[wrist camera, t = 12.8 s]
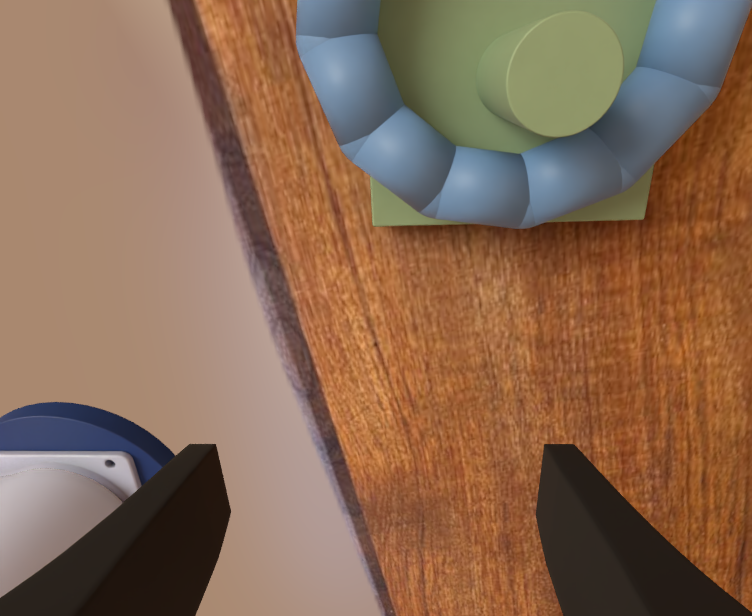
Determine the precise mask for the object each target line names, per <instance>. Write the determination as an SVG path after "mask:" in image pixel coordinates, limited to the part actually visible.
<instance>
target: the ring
mask: <svg viewBox="0 0 752 616" xmlns="http://www.w3.org/2000/svg"><path fill="white" fill-rule="evenodd" d="M380 2H381V0H297V24H296V45H297V50H298V54H299V56H300V59H301V61H302V63H303V66H304V68H305V70H306V72H307V75H308V77H309V79H310V81H311V84H312V86H313V88H314V90H315V93H316V95H317V97H318V99H319V102H320V104H321V106H322V108H323V111H324V113H325V115H326V117H327V120H328V122H329V124H330V126H331V129H332V131H333V133H334V135H335V138H336V140H337V142H338V144H339V147H340V148H341V150H342V152H343V153H344V154H345V156H346V157H347V158H348V159H349V160H350V161H352V162H353V163H354V164H355V165H357V166H358V167H359V168H361V169H362V170H363V171H365V172H366V173H367V174H369V175H370V176H371V177H373V178H374V179H375V180H377V181H378V182H379V183H380V184H382V185H383V186H384V187H386V188H387V189H388V190H390V191H391V192H392V193H394V194H395V195H396V196H398V197H399V198H400V199H402V200H403V201H404V202H405V203H407V204H408V205H409V206H411V207H412V208H413V209H415V210H416V211H417V212H419V213H420V214H422V215H424V216H426V217H429V218H434V219H441V220H449V221H457V222H465V223H473V224H481V225H489V226H497V227H505V228H513V229H526V228H531V227H534V226H537V225H539V224H542V223H545V222H547V221H550V220H552V219H555V218H558V217H560V216H563V215H565V214H568V213H571V212H573V211H576V210H579V209H581V208H584V207H586V206H589V205H592V204H594V203H597V202H599V201H602V200H605V199H607V198H610V197H613V196H615V195H618V194H620V193H622V192H624V191H626V190H627V189H629V188H630V187H631V186H633V185H634V184H635V183H636V182H637V181H638V180H639V179H640V178H641V177H642V176H643V175H644V174H645V173H646V172H647V171H648V170H649V169H650V168H651V167H652V165H653V164H654V163H655V162H656V161H657V160H658V159H659V158H660V157H661V156H662V155H663V154H664V153H665V152H666V151H667V150H668V149H669V148H670V147H671V146H672V145H673V144H674V143H675V142H676V141H677V140H678V139H679V138H680V137H681V136H682V135H683V134H684V133H685V132H686V130H687V129H688V128H689V127H690V126H691V125H692V124H693V123H694V122H695V121H696V120H697V119H698V118H699V117H700V116H701V115H702V114H703V113H704V112H705V111H706V110H707V109H708V108H709V107H710V105H711V104H712V103H713V102H714V100H715V99H716V97H717V95H718V94H719V92H720V90H721V87H722V85H723V82H724V79H725V77H726V74H727V71H728V69H729V66H730V63H731V61H732V58H733V55H734V53H735V50H736V47H737V44H738V42H739V39H740V36H741V34H742V31H743V28H744V26H745V23H746V20H747V18H748V15H749V12H750V10H751V7H752V0H656V3H655V6H654V9H653V12H652V16H651V19H650V22H649V26H648V29H647V32H646V36H645V39H644V42H643V46H642V49H641V52H640V55H639V59H638V62H637V65H636V68H635V69H634V71H633V72H632V73H631V74H630V75H629V76H628V77H627V78H626V80H625V81H624V82H623V83H622V84H621V86H620V89H619V92H618V94H617V96H616V99H615V100H614V102H613V104H612V105H611V107H610V108H609V109H608V111H607V112H606V113H605V114H604V115H603V116H602V117H601V118H600V119H599V120H598V121H597V122H596V123H595V124H593V125H592V126H590V127H589V128H587V129H586V130H584V131H582V132H580V133H577V134H574V135H571V136H567V137H559V138H556V139H554V140H551V141H549V142H547V143H544V144H542V145H539V146H537V147H535V148H532V149H530V150H527V151H525V152H523V153H520V154H517V153H509V152H501V151H493V150H485V149H477V148H469V147H461V146H455V145H454V144H453V143H451V142H450V141H449V140H448V139H447V138H445V137H444V136H443V135H442V134H440V133H439V132H438V131H437V130H435V129H434V128H433V127H432V126H431V125H429V124H428V123H427V122H426V121H424V120H423V119H422V118H421V117H419V116H418V115H417V114H416V113H415V112H413V111H412V110H411V109H410V108H408V107H407V106H406V105H405V104H404V103H403V100H402V97H401V95H400V92H399V89H398V87H397V84H396V82H395V79H394V76H393V74H392V71H391V69H390V66H389V63H388V61H387V58H386V55H385V53H384V50H383V48H382V45H381V42H380V40H379V37H378V35H377V32H378V22H379V12H380Z"/></svg>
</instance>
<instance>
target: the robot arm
mask: <svg viewBox="0 0 752 616" xmlns="http://www.w3.org/2000/svg"><path fill="white" fill-rule="evenodd" d="M111 460H112V461H113V462H112V461H111ZM230 513H231V509H230V505H229V500H228V496H227V492H226V487H225V483H224V478H223V474H222V469H221V465H220V460H219V456H218V451H217V447H216V444H189V445H188V446H187V447H185V448H184V449H183V450H182V451H181V452H180V453H179V454H178V455H176V456H175V457H174V458H173V459H172V460H171V461H169V462H168V463H167V464H166V465H165V466H164V467H163V468H162V469H161V470H160V471H158V472H157V473H156V474H155V475H154V476H153V477H152V478H151V479H150V480H148V481H147V482H146V483H145V484H144V485H143V486H142V485H141V482H140V479H139V476H138V472H137V469H136V466H135V463H134V460H133V458H132V456H131V455H130V454H129V453H127V452H123V451H0V616H195V615H196V612H197V610H198V608H199V605H200V603H201V600H202V598H203V595H204V593H205V590H206V588H207V586H208V583H209V580H210V578H211V575H212V573H213V571H214V568H215V565H216V563H217V560H218V558H219V554H220V551H221V547H222V543H223V541H224V537H225V533H226V529H227V526H228V522H229V518H230ZM536 518H537V523H538V528H539V533H540V538H541V543H542V547H543V552H544V556H545V561H546V564H547V567H548V570H549V574H550V577H551V580H552V583H553V586H554V589H555V592H556V595H557V598H558V601H559V604H560V607H561V610H562V613H563V616H752V612H750V611H749V610H748V609H747V608H745V607H744V606H743V605H742V604H740V603H739V602H738V601H737V600H735V599H734V598H733V597H732V596H730V595H729V594H728V593H727V592H725V591H724V590H723V589H722V588H721V587H719V586H718V585H717V584H716V583H714V582H713V581H712V580H711V579H710V578H708V577H707V576H706V575H705V574H704V573H703V572H701V571H700V570H699V569H698V568H697V567H696V566H695V565H693V564H692V563H691V562H690V561H689V560H688V559H687V558H686V557H685V556H684V555H682V554H681V553H680V552H679V551H678V550H677V549H676V548H675V547H674V546H672V545H671V544H670V543H669V542H668V541H667V540H666V539H665V538H664V537H663V536H662V535H661V534H660V533H659V532H658V531H657V530H656V529H655V528H654V527H653V526H652V525H651V524H650V523H649V522H648V521H647V520H646V519H645V518H644V517H643V516H642V515H641V514H640V513H639V512H638V511H637V510H636V509H635V508H634V507H633V506H632V505H631V504H630V503H629V502H628V501H627V500H626V499H625V498H624V497H623V496H622V495H621V494H620V493H619V492H618V491H617V490H616V489H615V488H614V487H613V486H612V485H611V484H610V482H609V481H608V480H607V479H606V478H605V477H604V476H603V475H602V474H601V473H600V472H599V471H598V470H597V469H596V467H595V466H594V465H593V464H592V463H591V462H590V461H589V460H588V459H587V458H586V457H585V456H584V454H583V453H582V452H581V451H580V450H579V449H578V448H577V447H576V446H575V445H574V444H544V452H543V460H542V468H541V476H540V484H539V492H538V500H537V509H536Z"/></svg>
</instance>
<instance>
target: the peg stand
mask: <svg viewBox="0 0 752 616" xmlns="http://www.w3.org/2000/svg"><path fill="white" fill-rule="evenodd" d="M655 3H656V0H381V2H380V12H379V22H378V32H377V35H378V37H379V40H380V42H381V45H382V48H383V50H384V53H385V55H386V58H387V61H388V63H389V66H390V69H391V71H392V74H393V76H394V79H395V82H396V84H397V87H398V89H399V92H400V95H401V97H402V100H403V103H404V104H405V105H406V106H407V107H408V108H410V109H411V110H412V111H413V112H415V113H416V114H417V115H418V116H419V117H421V118H422V119H423V120H424V121H426V122H427V123H428V124H429V125H431V126H432V127H433V128H434V129H435V130H437V131H438V132H439V133H440V134H442V135H443V136H444V137H445V138H447V139H448V140H449V141H450V142H451V143H453V144H454V145H455V146H461V147H469V148H477V149H485V150H493V151H501V152H509V153H517V154H520V153H523V152H525V151H527V150H530V149H532V148H535V147H537V146H539V145H542V144H544V143H547V142H549V141H551V140H554V139H556V138H559V137H567V136H571V135H574V134H577V133H580V132H582V131H584V130H586V129H587V128H589V127H590V126H592V125H593V124H595V123H596V122H597V121H598V120H599V119H600V118H601V117H602V116H603V115H604V114H605V113H606V112H607V111H608V109H609V108H610V107H611V105H612V104H613V102H614V100H615V99H616V96H617V94H618V92H619V89H620V86H621V84H622V83H623V82H624V81H625V80H626V78H627V77H628V76H629V75H630V74H631V73H632V72H633V71H634V69H635V68H636V65H637V62H638V59H639V55H640V52H641V49H642V46H643V42H644V39H645V36H646V32H647V29H648V26H649V22H650V19H651V16H652V12H653V9H654V6H655ZM653 169H654V164H653V165H652V167H651V168H650V169H649V170H648V171H647V172H646V173H645V174H644V175H643V176H642V177H641V178H640V179H639V180H638V181H637V182H636V183H635V184H634V185H633V186H631V187H630V188H629V189H627V190H626V191H624V192H622V193H620V194H618V195H615V196H613V197H610V198H607V199H605V200H602V201H599V202H597V203H594V204H592V205H589V206H586V207H584V208H581V209H579V210H576V211H573V212H571V213H568V214H565V215H563V216H560V217H558V218H555V219H552V220H550V221H547V222H573V221H611V220H642V219H644V217H645V211H646V206H647V201H648V195H649V190H650V185H651V179H652V174H653ZM370 183H371V205H372V225H373V226H374V227H381V226H419V225H458V224H473V223H465V222H457V221H449V220H441V219H434V218H429V217H426V216H424V215H422V214H420V213H419V212H417V211H416V210H415V209H413V208H412V207H411V206H409V205H408V204H407V203H405V202H404V201H403V200H402V199H400V198H399V197H398V196H396V195H395V194H394V193H392V192H391V191H390V190H388V189H387V188H386V187H384V186H383V185H382V184H380V183H379V182H378V181H377V180H375V179H374V178H373V177H371V176H370Z"/></svg>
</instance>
